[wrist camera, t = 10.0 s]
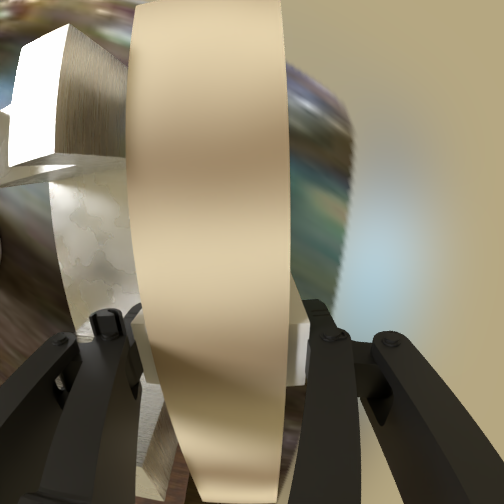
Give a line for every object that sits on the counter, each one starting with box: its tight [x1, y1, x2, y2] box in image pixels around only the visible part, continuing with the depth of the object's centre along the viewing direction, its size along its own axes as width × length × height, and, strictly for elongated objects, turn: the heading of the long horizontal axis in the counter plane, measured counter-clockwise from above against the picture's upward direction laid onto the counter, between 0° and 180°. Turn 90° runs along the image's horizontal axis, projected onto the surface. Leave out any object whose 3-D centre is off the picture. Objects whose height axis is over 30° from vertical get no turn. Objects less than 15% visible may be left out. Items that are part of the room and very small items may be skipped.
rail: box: [126, 0, 290, 504], centre depth 12 cm, size 24×4×6 cm, turn 2°
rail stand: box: [0, 24, 178, 501], centre depth 13 cm, size 20×10×12 cm, turn 2°
